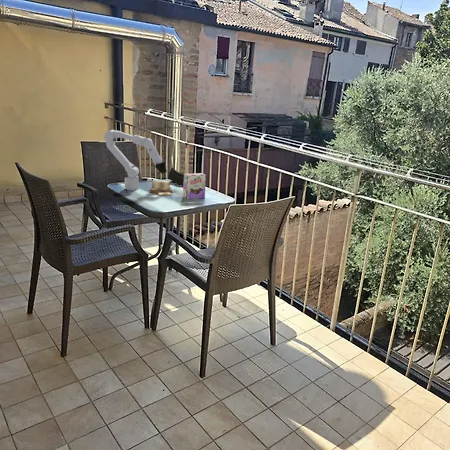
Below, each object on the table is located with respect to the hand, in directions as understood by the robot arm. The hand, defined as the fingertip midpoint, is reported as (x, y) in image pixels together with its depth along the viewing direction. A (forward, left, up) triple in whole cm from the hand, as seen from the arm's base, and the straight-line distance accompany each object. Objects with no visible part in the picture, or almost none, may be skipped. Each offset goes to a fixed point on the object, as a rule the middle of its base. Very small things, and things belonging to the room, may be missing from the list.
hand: (164, 172), depth 284 cm
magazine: (+19, +21, -14) cm, 32 cm away
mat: (-3, +6, -14) cm, 15 cm away
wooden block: (-3, -4, -14) cm, 14 cm away
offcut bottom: (-3, -12, -14) cm, 19 cm away
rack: (-3, -4, -13) cm, 14 cm away
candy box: (+15, -21, -14) cm, 29 cm away
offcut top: (-3, -12, -13) cm, 18 cm away
